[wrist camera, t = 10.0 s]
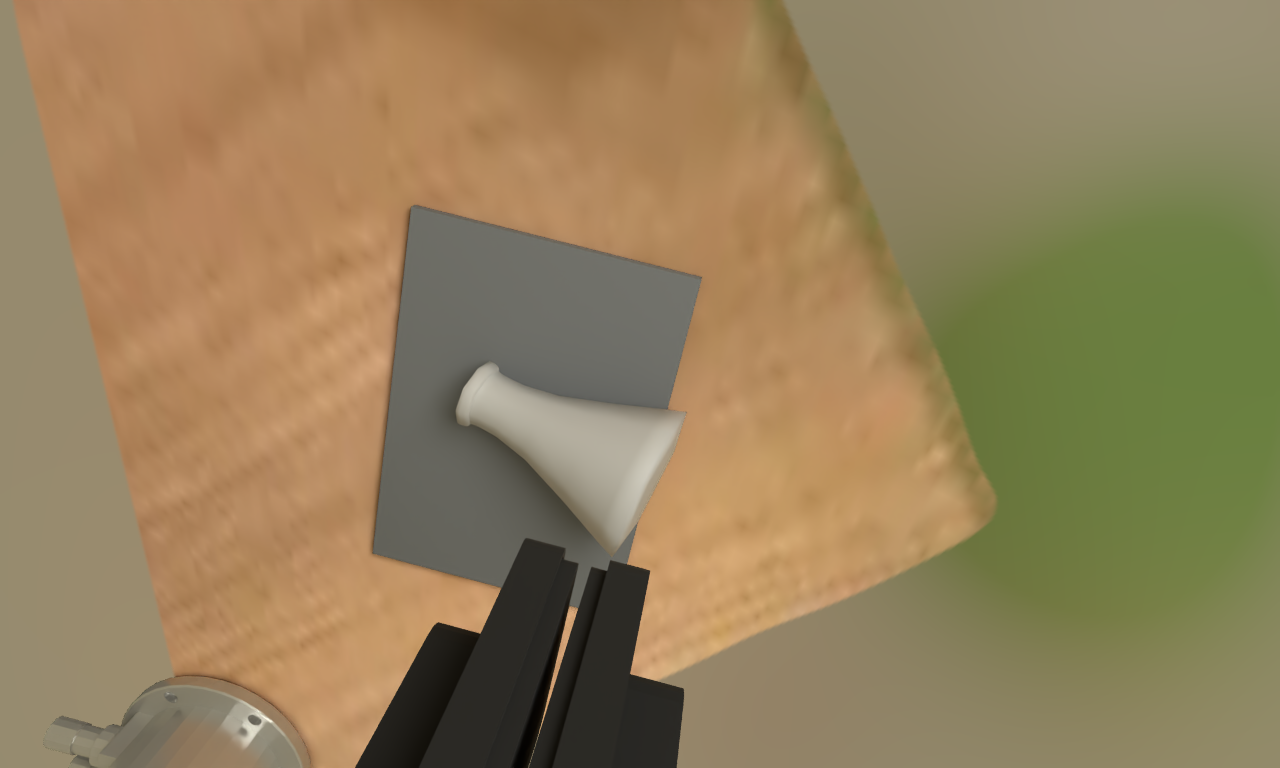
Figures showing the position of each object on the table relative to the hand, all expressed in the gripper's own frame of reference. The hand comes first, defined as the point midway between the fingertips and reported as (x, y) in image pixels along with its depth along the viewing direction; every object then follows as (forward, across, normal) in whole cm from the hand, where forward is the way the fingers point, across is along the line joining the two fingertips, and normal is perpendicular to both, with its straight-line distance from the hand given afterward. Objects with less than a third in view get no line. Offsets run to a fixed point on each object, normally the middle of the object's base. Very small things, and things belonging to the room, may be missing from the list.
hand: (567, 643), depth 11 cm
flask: (+26, -1, +12) cm, 28 cm away
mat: (+29, +6, +13) cm, 33 cm away
